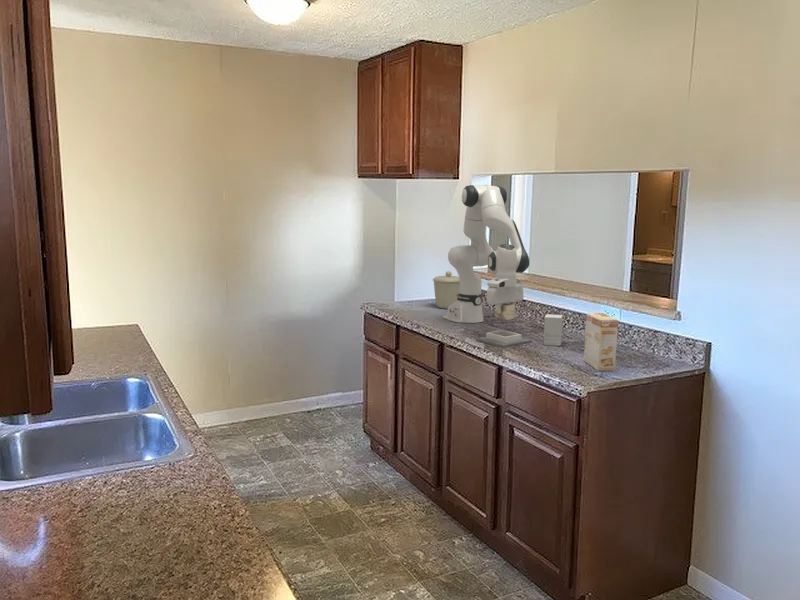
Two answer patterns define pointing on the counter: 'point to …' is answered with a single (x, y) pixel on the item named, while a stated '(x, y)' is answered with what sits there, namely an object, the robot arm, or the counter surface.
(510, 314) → the tan cardboard carton
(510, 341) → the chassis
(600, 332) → the coffeecake box
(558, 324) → the supplement box
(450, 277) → the canister
